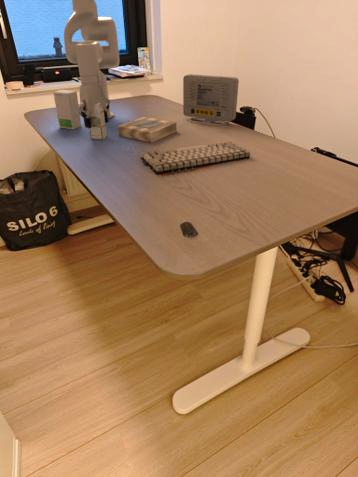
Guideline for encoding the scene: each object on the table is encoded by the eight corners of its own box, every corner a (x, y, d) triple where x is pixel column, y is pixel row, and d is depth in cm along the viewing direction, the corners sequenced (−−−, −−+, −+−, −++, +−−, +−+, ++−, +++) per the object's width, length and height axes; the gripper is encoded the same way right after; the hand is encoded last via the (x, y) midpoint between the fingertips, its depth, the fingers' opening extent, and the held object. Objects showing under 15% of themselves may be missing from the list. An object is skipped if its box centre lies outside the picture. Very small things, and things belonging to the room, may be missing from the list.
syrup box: (107, 135, 145) (102, 100, 137) (103, 140, 140) (98, 103, 132) (94, 135, 145) (89, 100, 137) (90, 139, 141) (84, 103, 132)
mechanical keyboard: (226, 145, 135) (227, 136, 134) (254, 161, 121) (255, 152, 119) (138, 160, 123) (137, 151, 121) (157, 180, 108) (156, 170, 107)
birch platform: (118, 135, 145) (117, 125, 143) (144, 125, 158) (144, 116, 155) (151, 142, 137) (151, 132, 134) (176, 131, 149) (176, 121, 147)
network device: (236, 122, 160) (240, 76, 149) (230, 127, 154) (233, 79, 142) (188, 116, 170) (189, 73, 159) (180, 121, 164) (180, 75, 152)
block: (191, 227, 85) (191, 221, 84) (199, 239, 80) (200, 232, 79) (177, 228, 84) (178, 221, 83) (184, 239, 79) (185, 232, 78)
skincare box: (59, 127, 156) (51, 91, 147) (68, 124, 161) (61, 89, 152) (74, 129, 153) (67, 93, 144) (82, 125, 158) (76, 90, 149)
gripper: (99, 76, 138) (105, 119, 147) (66, 82, 126) (74, 128, 135) (113, 77, 134) (117, 121, 144) (80, 84, 122) (88, 131, 132)
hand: (97, 124), depth 139 cm, fingers open, 9 cm apart
